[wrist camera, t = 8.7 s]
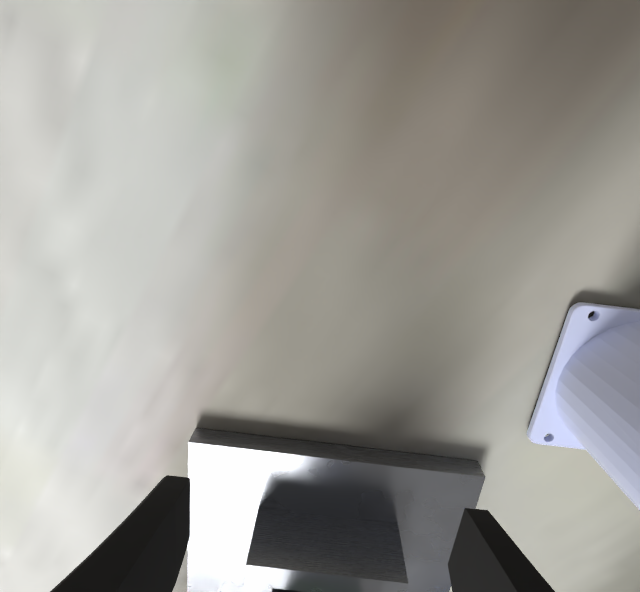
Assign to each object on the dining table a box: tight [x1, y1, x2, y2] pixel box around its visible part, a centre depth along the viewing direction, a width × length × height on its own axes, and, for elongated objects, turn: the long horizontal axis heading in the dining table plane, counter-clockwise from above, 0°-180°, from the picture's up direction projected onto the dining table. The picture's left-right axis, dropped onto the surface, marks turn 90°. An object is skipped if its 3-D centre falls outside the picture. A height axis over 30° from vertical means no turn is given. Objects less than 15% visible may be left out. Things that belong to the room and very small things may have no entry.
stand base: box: [187, 428, 485, 592], centre depth 22 cm, size 16×16×4 cm
